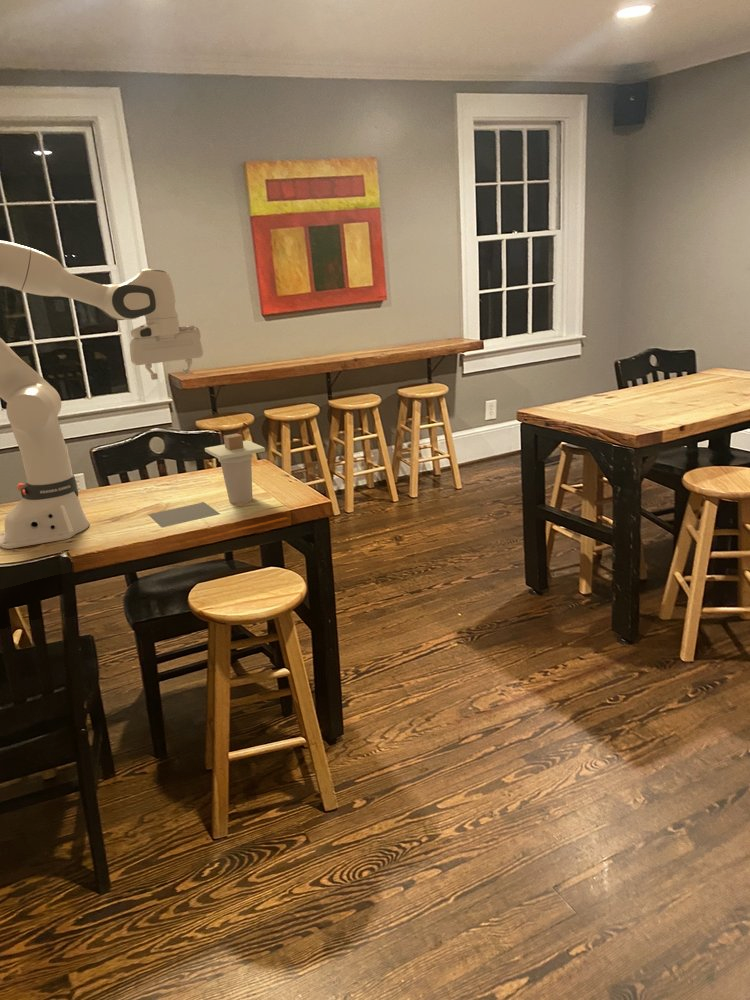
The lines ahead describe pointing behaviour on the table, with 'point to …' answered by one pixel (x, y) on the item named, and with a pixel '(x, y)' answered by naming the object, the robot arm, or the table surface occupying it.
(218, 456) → the lid
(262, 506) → the table surface
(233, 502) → the coffee cup
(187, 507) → the mat
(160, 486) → the table surface
